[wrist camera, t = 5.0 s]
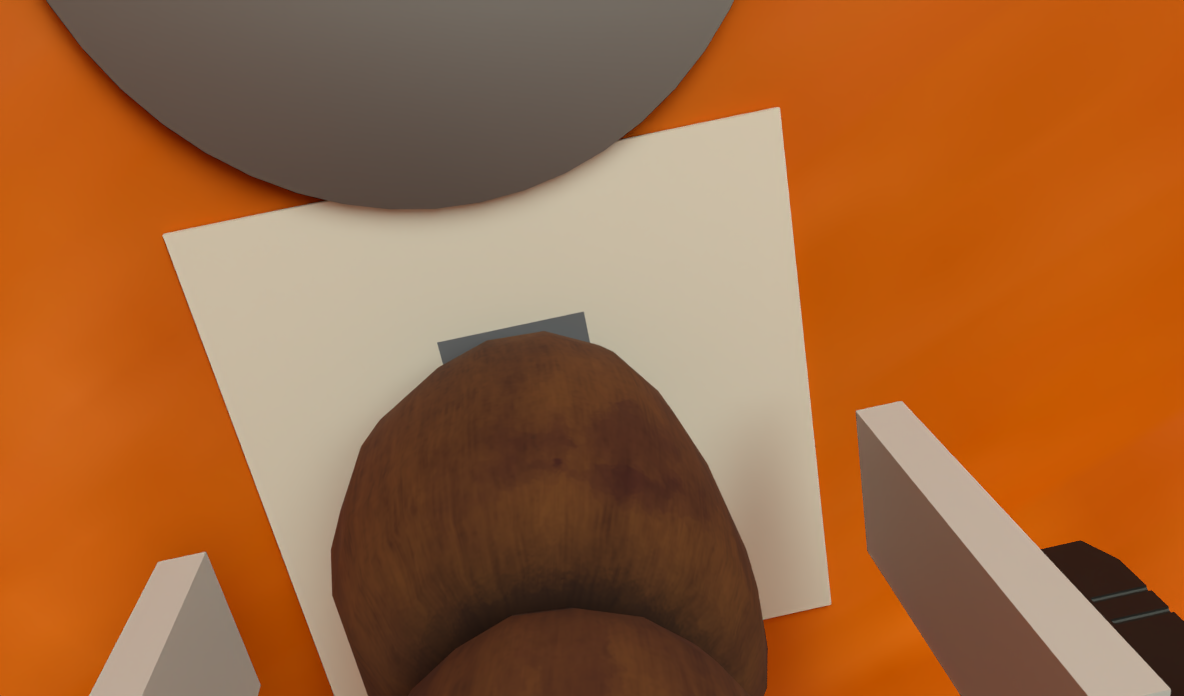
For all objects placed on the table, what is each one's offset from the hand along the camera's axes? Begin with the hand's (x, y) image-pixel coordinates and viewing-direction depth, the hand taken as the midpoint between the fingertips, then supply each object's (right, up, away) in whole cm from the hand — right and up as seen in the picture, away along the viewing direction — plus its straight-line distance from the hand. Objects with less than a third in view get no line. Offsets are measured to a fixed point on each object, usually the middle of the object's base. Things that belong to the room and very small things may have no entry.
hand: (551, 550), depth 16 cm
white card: (0, +1, +4) cm, 4 cm away
